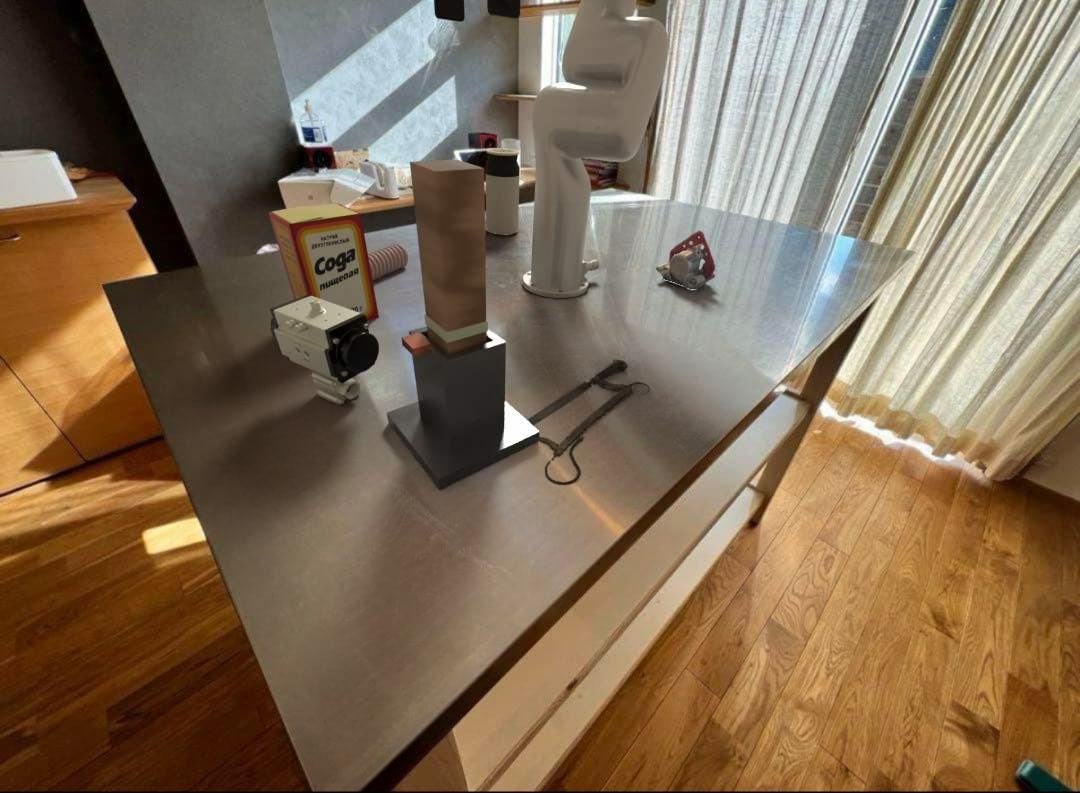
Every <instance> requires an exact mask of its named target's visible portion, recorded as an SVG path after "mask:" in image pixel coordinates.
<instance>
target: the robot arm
mask: <svg viewBox="0 0 1080 793" xmlns="http://www.w3.org/2000/svg"><path fill="white" fill-rule="evenodd" d="M636 6H637V0H580V2H579V5H578V8H577V10H576V14H575V18H574V20H573V23H572V26H571V29H570V31H569V35H568V38H567V41H566V43H565V47H564V50H563V54H562V60H561V72H562V77H563V79H564V82H562V81H561V82H556V83H551V84H548V85H547V86H545V87H543V88H542V89H541V90H540V91H539V92H538V93H537V95H536V97H535V99H534V102H533V106H532V111H531V112H532V113H531V123H532V135H533V142H534V155H535V184H534V186H535V187H534V200H533V201H534V202H533V204H534V205H533V222H532V223H533V225H532V240H531V241H532V242H531V244H532V245H531V260H530V262H531V264H530V265H531V267H530V270H529V271H527V272H526V273H524V275H523V276H522V278H521V279H522V280H521V281H522V285H523V287H524V288H525V289H526V290H527V291H529V292H530V293H532V294H535V295H538V296H542V297H545V298H552V299H568V298H574V297H578V296H580V295H583V294H585V293H586V292H587V291H588V289H589V281H588V279H587V277H586V276H585V275H586V274H588V272H592V271H596V270H598V269H599V268H600V262H599V261H598V259H591V260H589V261H586V259H585V258H584V253H585V244H586V236H587V229H588V228H587V227H588V219H589V211H590V204H591V203H590V202H591V198H592V196H591V195H592V184H591V179H590V175H589V173H588V171H587V169H586V167H585V165H584V162H583V161H582V159H590V160H598V161H605V162H615V163H624V162H628V161H630V160H631V159H633V158H634V157H635V156H636V154H637V153H638V151H639V149H640V147H641V144H642V141H643V139H644V136H645V133H646V131H647V127H648V124H649V121H650V118H651V116H652V115H651V114H653V109H654V106H655V102H656V100H657V99H658V95H659V92H660V87H661V85H662V82H663V78H664V75H665V71H666V67H667V61H668V55H669V37H668V32H667V29H666V27H665V26H664V24H663V22H661V21H660V20H658V19H657V18H653V17H647V16H634V14H635V10H636ZM433 7H434V8H433V10H434V16H435V17H436V19H438V20H444V21H445V20H446V21H452V22H458V23H459V22H464V21H465V17H466V16H465V14H466V13H465V12H466V11H465V0H433ZM486 7H487V9H486V10H487V13H488V14H489V15H491V16H496V17H502V18H508V19H519V18H520V16H521V0H486Z"/></svg>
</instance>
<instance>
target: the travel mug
mask: <svg viewBox="0 0 1080 793" xmlns="http://www.w3.org/2000/svg"><path fill="white" fill-rule="evenodd" d="M486 153H487V158H488V160H487V162H486V164H485V230H486V229H487V230H486V231H487V232H488V233H489V232H491V233H490V234H492V233H496V234H511V233H515V232H516V231H519V210H520V209H519V207H520V206H519V205H520V203H519V202H520V170H521V168H520V165H519V162H518V156H519V154H520V151H518V150H516V149H511V148H500V147H499V148H498V147H496V148H495V147H494V148H487V149H486ZM515 234H516V233H515Z"/></svg>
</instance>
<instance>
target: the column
mask: <svg viewBox="0 0 1080 793" xmlns="http://www.w3.org/2000/svg"><path fill="white" fill-rule="evenodd" d="M409 168H410V175H411V186H412V195H413V203H414V204H413V206H414V215H415V223H416V224H415V225H416V234H417V244H418V251H419V254H418V255H419V261H420V262H419V263H420V272H421V273H420V274H421V281H422V282H421V283H422V291H423V300H424V310H425V313H424V314H423V315H424V323H425V325H426V327H427V330H428V340H429V341H431V342H432V343H433V344H434V345H435V346H436V347H437V348H438V349H439V350H441V351H442V352H443V353H444V354H445V355H446V356H447V355H450V354H453V353H456V352H459V351H463V350H466V349H469V348H472V347H475V346H479V345H482V344H485V343H487V331H488V329H489V321H488V320H487V284H486V282H487V281H486V280H487V276H486V275H487V273H486V272H487V271H486V270H487V269H486V268H487V266H486V265H487V264H486V195H485V167H481V166H478V165H474V164H473V163H469V162H466V161H462V160H460V159H441V160H438V159H437V160H420V161H409Z"/></svg>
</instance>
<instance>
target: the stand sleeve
mask: <svg viewBox="0 0 1080 793" xmlns="http://www.w3.org/2000/svg"><path fill="white" fill-rule="evenodd" d="M401 346H402V347H404V349H406V350H407V351H408V352H409V354H411V358H412V364H413V372H414V380H415V387H416V395H417V401H415V402H413V403H409V404H407V405H404V406H402V407H398V408H396V409H393V410H390V411H388V412H386V418H387V422H388V425H389V426H390V427H391V428H392V430H393V431H394V432H395V434H396V435H397V436H398V438H399V440H400V441H401V442H402V443H403V444H404V445H405V447H406V448H407V449H408V450H409V452H410V454H411V455H412V456H413V458H414V459H415V460H416V461H417V463H418V464H419V465H420V467H421V468H422V469H423V471H424V472H425V473H426V474H427V476H428V477H429V478H430V480H431V481H432V482H433V483H434V485H435V486H436V488H437V489H438V490H439V491H441V490H444V489H446V488H448V487H450V486H452V485H454V484H456V483H458V482H461V481H462V480H465V479H466V478H468V477H470V476H472V475H474V474H476V473H479V472H480V471H483V470H484V469H486V468H489V467H490V466H493V465H494V464H497V463H499V462H500V461H503V460H506V459H507V458H509V457H511V456H513V455H515V454H517V453H519V452H521V451H524V449H527V448H529V447H531V446H533V445H535V444H537V443H539V442H540V441H539V436H540V430H539V429H537V428H536V427H535V425H532V424H531V423H530V422H528V421H527V420H528V419H527V418H525V417H524V416H523V415H522V414H520V412H518V411H517V410H516V409H515V408H514V407H512V405H510V404H509V403H508V402H507V401H506V365H507V364H506V362H507V360H506V359H507V358H506V356H507V354H506V353H507V341H506V340H504V339H503V338H501V337H500V336H498V335H497V334H496V333H494V332H493V331H492V330H490V329H489V328H488V331H487V343H485V344H482V345H479V346H475V347H472V348H469V349H466V350H463V351H459V352H456V353H453V354H450V355H447V356H446V355H445V354H444V353H443V352H442V351H441V350H439V349H438V348H437V347H436V346H435V345H434V344H433V343H432V342H431V341H429V340H428V330H427V326H424V327H420V328H416V329H412V330H408V335H404V336H401Z"/></svg>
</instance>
